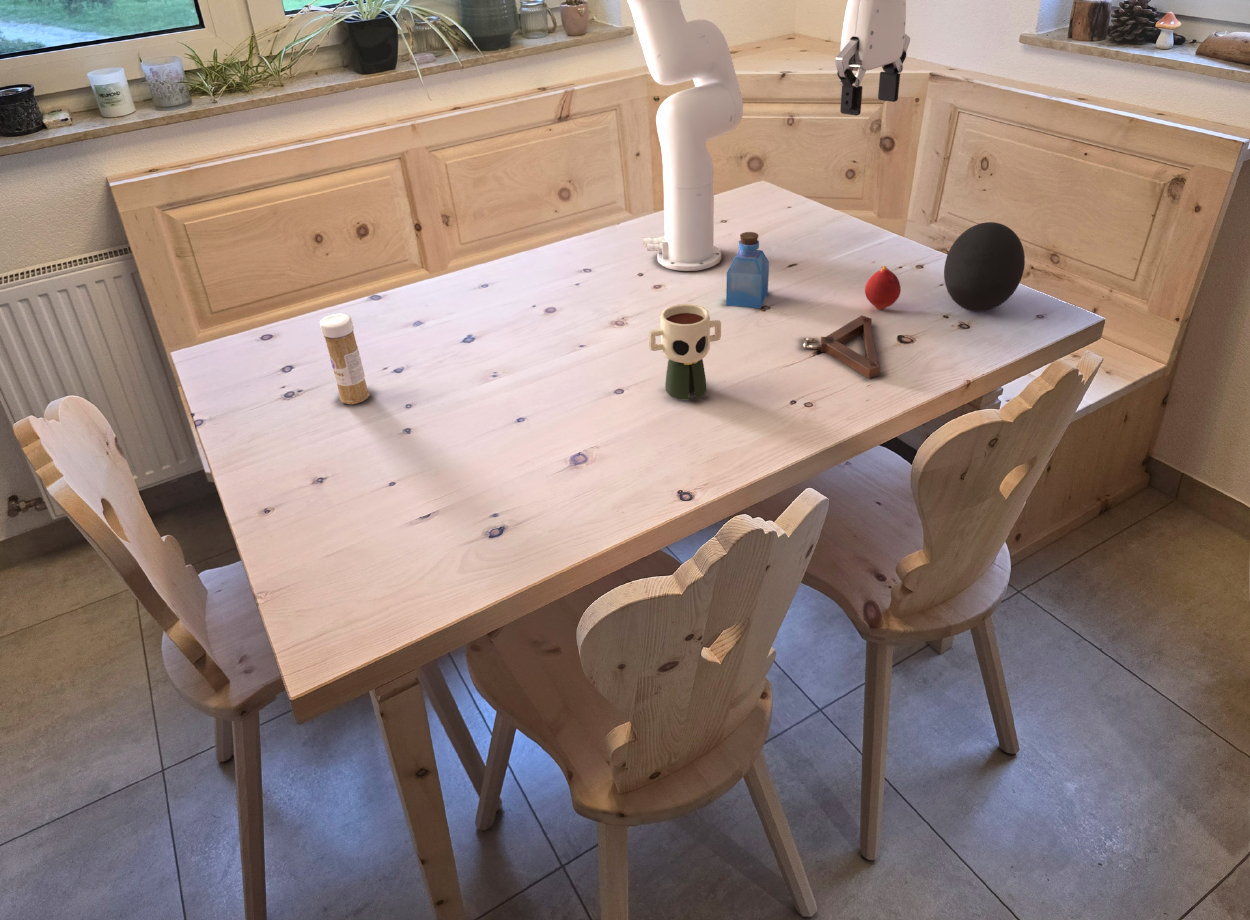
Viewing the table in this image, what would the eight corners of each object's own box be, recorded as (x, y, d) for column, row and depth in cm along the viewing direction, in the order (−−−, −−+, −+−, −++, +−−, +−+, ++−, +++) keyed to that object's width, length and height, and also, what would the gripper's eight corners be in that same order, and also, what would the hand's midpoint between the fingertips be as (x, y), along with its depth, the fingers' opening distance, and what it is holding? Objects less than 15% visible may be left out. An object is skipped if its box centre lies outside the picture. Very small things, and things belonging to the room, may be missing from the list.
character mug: (657, 410, 131) (654, 330, 124) (645, 386, 137) (641, 309, 129) (728, 397, 133) (729, 318, 125) (712, 375, 139) (713, 298, 131)
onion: (894, 302, 156) (900, 259, 152) (899, 316, 152) (906, 272, 147) (861, 302, 157) (865, 259, 152) (865, 316, 152) (870, 272, 148)
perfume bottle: (767, 294, 162) (770, 230, 155) (760, 308, 157) (763, 243, 150) (734, 290, 163) (735, 227, 157) (726, 305, 159) (727, 240, 152)
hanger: (804, 376, 137) (805, 367, 136) (802, 322, 152) (803, 314, 151) (879, 379, 135) (880, 370, 134) (870, 324, 150) (871, 315, 149)
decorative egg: (969, 287, 160) (984, 205, 151) (1029, 310, 151) (1049, 225, 143) (922, 306, 154) (935, 222, 146) (982, 331, 146) (1000, 244, 137)
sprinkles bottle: (334, 399, 138) (312, 321, 130) (358, 387, 141) (338, 309, 133) (352, 408, 136) (331, 329, 128) (376, 396, 138) (357, 317, 131)
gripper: (891, -29, 132) (880, 93, 142) (820, -13, 123) (814, 116, 132) (936, -28, 127) (922, 98, 137) (866, -11, 118) (856, 123, 128)
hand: (869, 107), depth 135 cm, fingers open, 9 cm apart
